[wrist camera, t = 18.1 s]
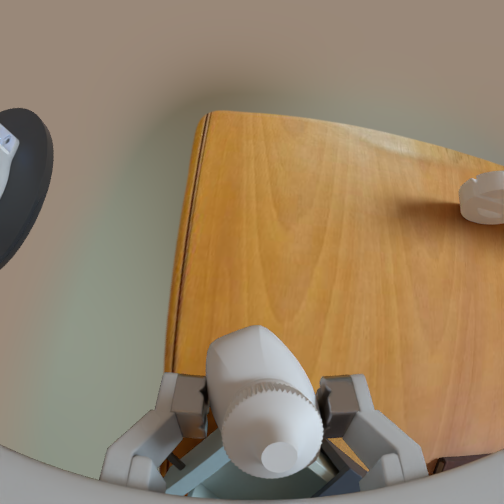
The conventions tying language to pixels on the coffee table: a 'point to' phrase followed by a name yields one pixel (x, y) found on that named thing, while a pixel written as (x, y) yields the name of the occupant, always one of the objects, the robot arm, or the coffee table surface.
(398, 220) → the coffee table surface
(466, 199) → the white double disc plate
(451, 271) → the coffee table surface
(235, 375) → the eye dropper bottle
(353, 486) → the cabinet
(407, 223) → the coffee table surface
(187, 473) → the drawer
